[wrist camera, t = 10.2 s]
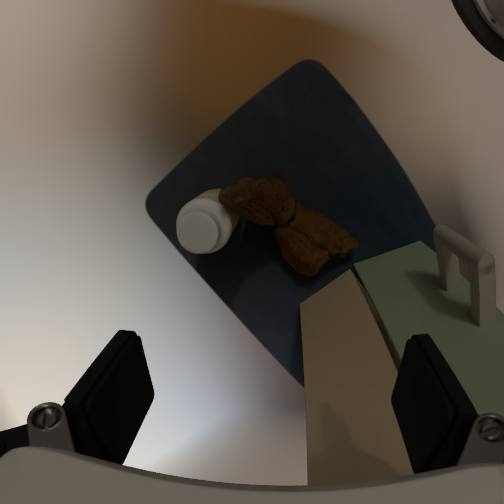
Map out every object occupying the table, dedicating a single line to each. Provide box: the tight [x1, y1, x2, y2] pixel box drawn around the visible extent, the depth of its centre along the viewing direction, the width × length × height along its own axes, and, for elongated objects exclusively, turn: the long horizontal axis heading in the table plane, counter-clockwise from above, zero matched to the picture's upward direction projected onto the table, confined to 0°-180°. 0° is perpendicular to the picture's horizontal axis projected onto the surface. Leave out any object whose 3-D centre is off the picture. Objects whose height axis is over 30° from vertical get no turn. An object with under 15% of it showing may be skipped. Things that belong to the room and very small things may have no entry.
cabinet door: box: [354, 224, 504, 417], centre depth 22 cm, size 6×9×31 cm
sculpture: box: [218, 173, 359, 276], centre depth 33 cm, size 8×10×15 cm
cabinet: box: [300, 269, 414, 485], centre depth 26 cm, size 8×9×31 cm
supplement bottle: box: [176, 189, 240, 254], centre depth 34 cm, size 6×6×10 cm
